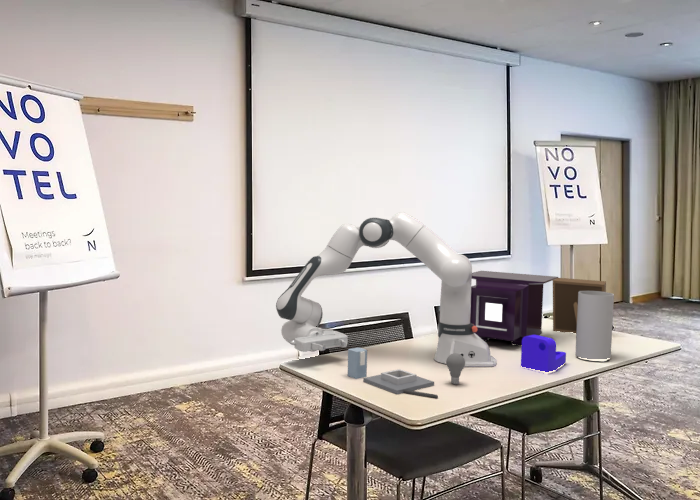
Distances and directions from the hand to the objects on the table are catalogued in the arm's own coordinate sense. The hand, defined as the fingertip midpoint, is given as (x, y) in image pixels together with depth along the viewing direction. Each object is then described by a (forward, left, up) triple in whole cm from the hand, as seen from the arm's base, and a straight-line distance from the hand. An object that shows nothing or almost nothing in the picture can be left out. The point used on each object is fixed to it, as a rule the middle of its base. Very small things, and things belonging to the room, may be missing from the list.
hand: (334, 346), depth 215 cm
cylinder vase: (-95, -31, -8) cm, 100 cm away
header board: (-23, +15, -7) cm, 28 cm away
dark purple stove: (-65, -56, -8) cm, 86 cm away
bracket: (-76, -16, -8) cm, 78 cm away
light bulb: (-41, +12, -8) cm, 43 cm away
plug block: (-9, +9, -8) cm, 15 cm away
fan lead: (-30, +26, -7) cm, 40 cm away
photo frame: (-99, -73, -8) cm, 123 cm away
